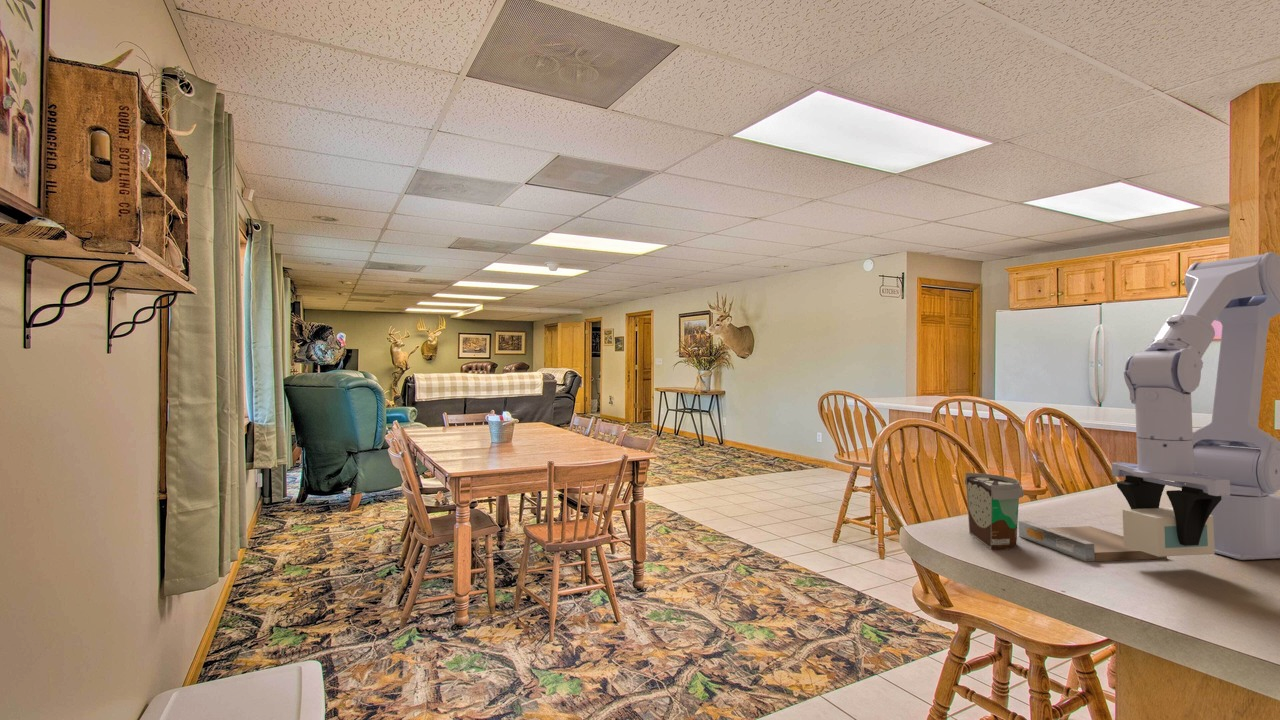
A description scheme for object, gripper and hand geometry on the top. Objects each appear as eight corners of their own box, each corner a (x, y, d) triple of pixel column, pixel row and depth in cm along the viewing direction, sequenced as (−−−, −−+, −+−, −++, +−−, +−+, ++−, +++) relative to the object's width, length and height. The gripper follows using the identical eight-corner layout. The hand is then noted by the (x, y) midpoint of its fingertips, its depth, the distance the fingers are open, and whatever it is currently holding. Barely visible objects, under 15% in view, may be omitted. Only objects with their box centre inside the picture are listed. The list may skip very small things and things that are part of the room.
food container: (1040, 554, 86) (1038, 486, 86) (995, 552, 87) (993, 485, 87) (1005, 532, 98) (1004, 472, 98) (966, 530, 99) (964, 472, 99)
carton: (1176, 543, 81) (1175, 507, 82) (1215, 554, 76) (1213, 516, 77) (1123, 545, 81) (1122, 509, 81) (1158, 556, 76) (1157, 518, 76)
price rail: (1027, 535, 96) (1026, 520, 96) (1094, 561, 83) (1094, 543, 83) (1017, 536, 95) (1017, 521, 95) (1084, 561, 82) (1083, 543, 82)
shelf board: (1090, 533, 96) (1089, 526, 96) (1166, 558, 83) (1166, 549, 83) (1027, 535, 96) (1027, 528, 96) (1095, 561, 83) (1095, 552, 83)
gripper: (1091, 433, 86) (1094, 525, 86) (1191, 445, 71) (1195, 556, 71) (1135, 432, 86) (1138, 523, 86) (1243, 444, 72) (1248, 554, 72)
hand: (1167, 538), depth 79 cm, fingers closed on carton, 5 cm apart
